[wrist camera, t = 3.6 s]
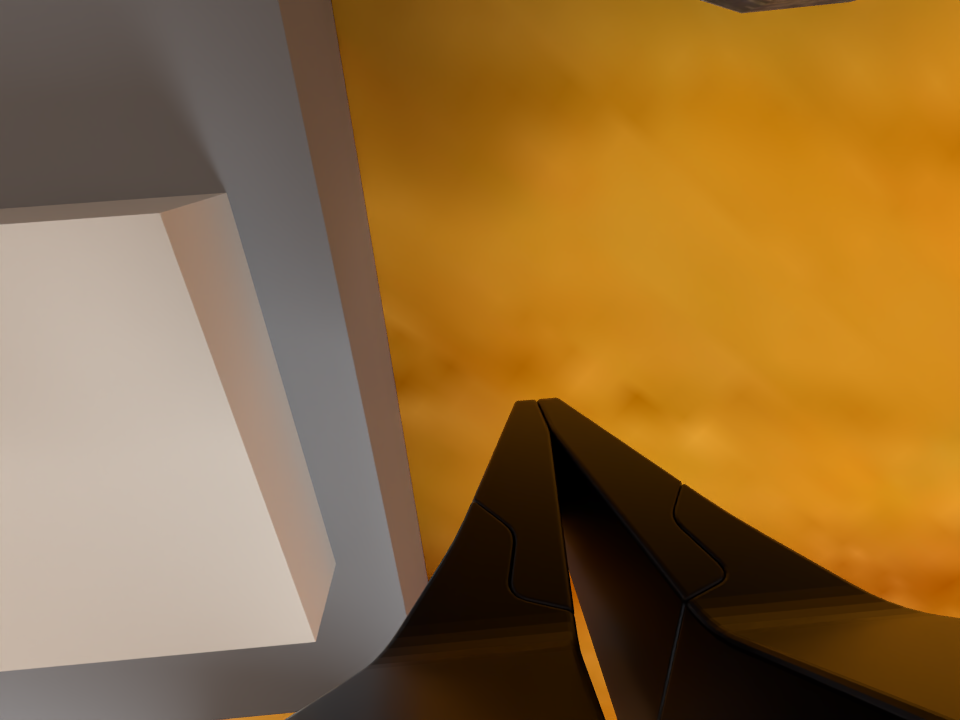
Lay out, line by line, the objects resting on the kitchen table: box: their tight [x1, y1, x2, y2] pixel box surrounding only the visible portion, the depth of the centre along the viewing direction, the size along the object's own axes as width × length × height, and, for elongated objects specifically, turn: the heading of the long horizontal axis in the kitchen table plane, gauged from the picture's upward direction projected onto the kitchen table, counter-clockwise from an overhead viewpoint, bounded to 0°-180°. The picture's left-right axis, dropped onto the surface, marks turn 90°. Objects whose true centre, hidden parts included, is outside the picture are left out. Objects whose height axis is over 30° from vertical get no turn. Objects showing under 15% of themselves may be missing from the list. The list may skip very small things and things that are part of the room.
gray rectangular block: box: [0, 0, 428, 720], centre depth 11 cm, size 22×16×4 cm
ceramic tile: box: [0, 193, 336, 672], centre depth 9 cm, size 9×9×2 cm
